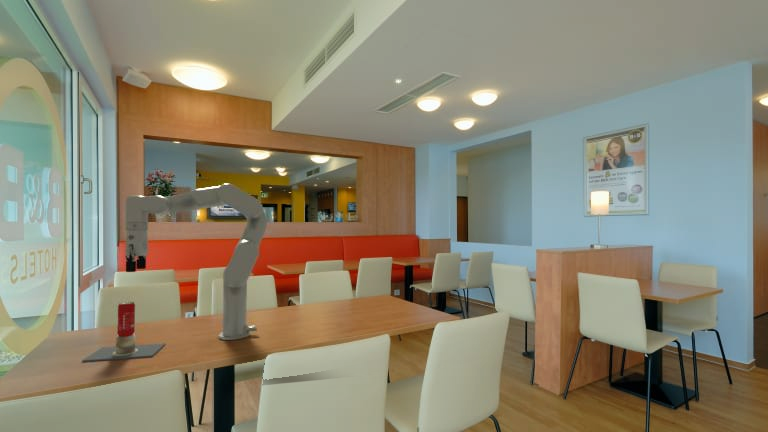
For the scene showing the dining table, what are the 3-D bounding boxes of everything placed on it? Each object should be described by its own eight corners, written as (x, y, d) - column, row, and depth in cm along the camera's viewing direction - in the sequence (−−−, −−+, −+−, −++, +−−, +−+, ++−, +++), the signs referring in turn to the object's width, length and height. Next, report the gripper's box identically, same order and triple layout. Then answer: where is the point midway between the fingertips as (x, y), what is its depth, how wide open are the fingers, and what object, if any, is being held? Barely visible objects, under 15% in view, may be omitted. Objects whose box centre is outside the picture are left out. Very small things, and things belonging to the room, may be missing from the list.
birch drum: (138, 348, 140) (138, 332, 140) (130, 354, 134) (130, 337, 135) (120, 349, 139) (121, 333, 139) (112, 355, 133) (112, 338, 134)
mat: (165, 344, 147) (165, 342, 147) (152, 356, 134) (152, 354, 134) (102, 348, 142) (102, 347, 142) (81, 362, 128) (82, 360, 128)
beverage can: (125, 337, 134) (126, 304, 135) (113, 336, 135) (114, 304, 136) (137, 333, 139) (138, 301, 140) (126, 333, 140) (127, 301, 141)
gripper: (138, 227, 138) (138, 272, 138) (155, 226, 155) (154, 267, 155) (115, 227, 136) (115, 273, 136) (135, 226, 153) (134, 268, 153)
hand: (136, 270), depth 145 cm, fingers open, 9 cm apart
